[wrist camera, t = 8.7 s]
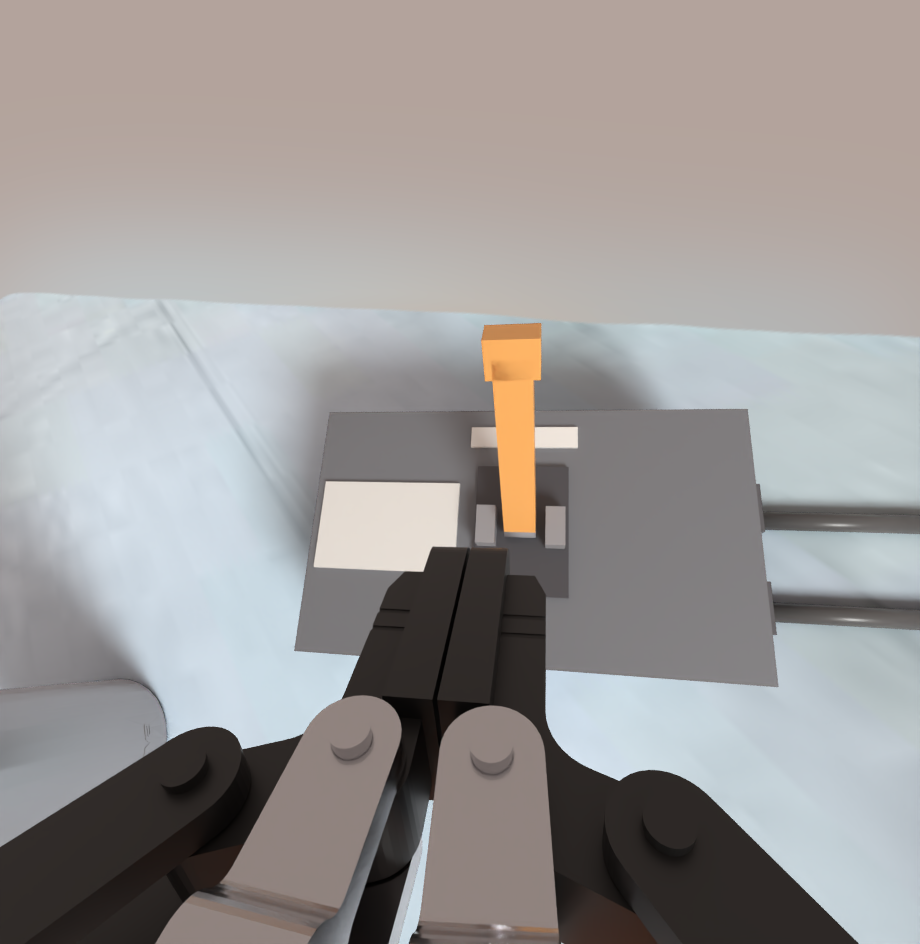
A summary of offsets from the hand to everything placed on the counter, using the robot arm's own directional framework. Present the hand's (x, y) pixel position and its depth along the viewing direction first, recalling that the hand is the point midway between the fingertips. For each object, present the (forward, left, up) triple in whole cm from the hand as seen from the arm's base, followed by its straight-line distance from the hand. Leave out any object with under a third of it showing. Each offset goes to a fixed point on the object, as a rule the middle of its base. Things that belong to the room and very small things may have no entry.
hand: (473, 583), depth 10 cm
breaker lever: (0, +5, -16) cm, 17 cm away
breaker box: (+8, +5, -27) cm, 29 cm away
